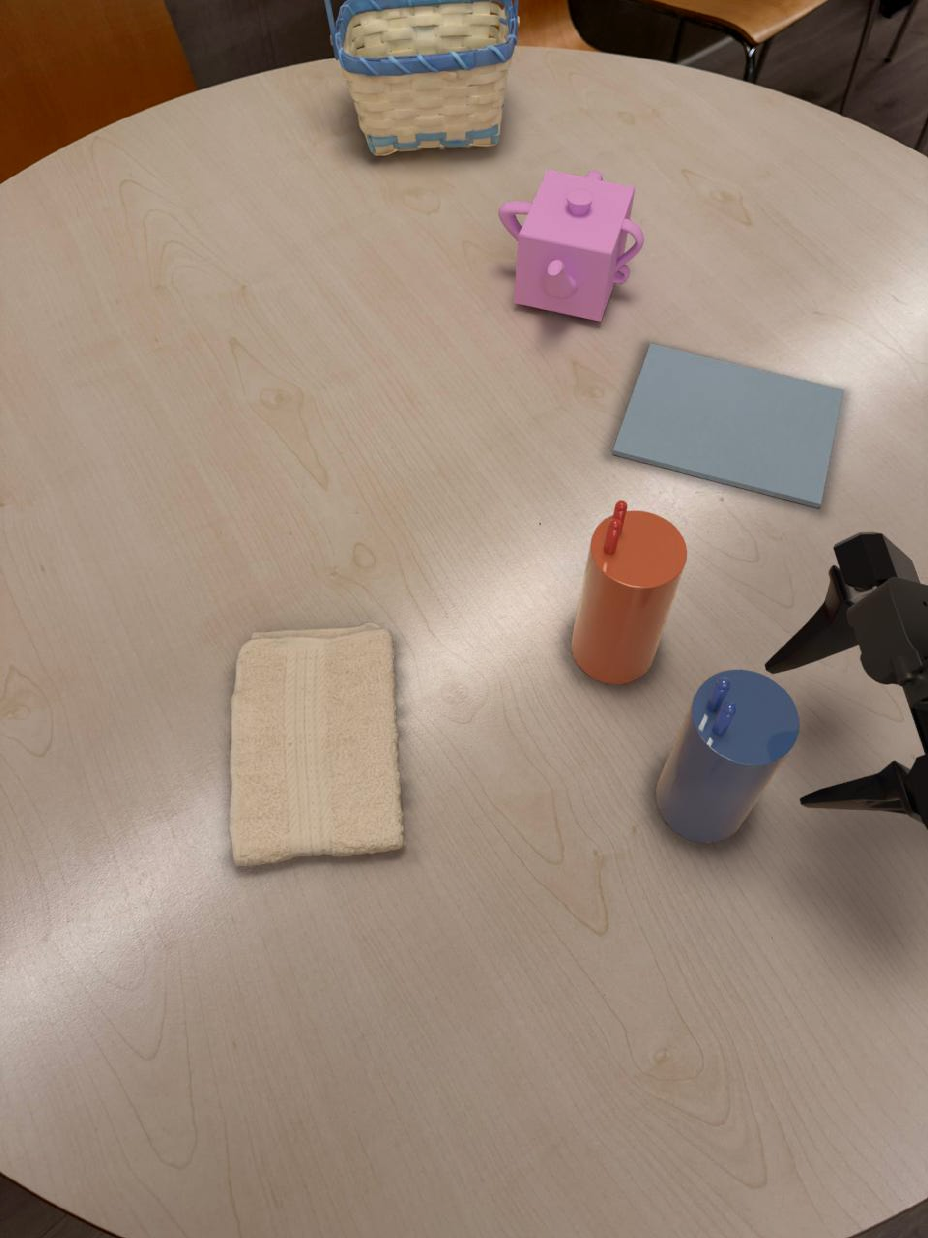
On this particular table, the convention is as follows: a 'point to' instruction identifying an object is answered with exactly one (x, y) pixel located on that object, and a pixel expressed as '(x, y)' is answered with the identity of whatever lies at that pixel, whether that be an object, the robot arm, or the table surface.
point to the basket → (426, 69)
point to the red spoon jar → (626, 594)
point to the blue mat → (731, 424)
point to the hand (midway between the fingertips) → (784, 734)
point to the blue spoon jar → (725, 754)
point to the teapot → (572, 243)
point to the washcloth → (315, 746)
